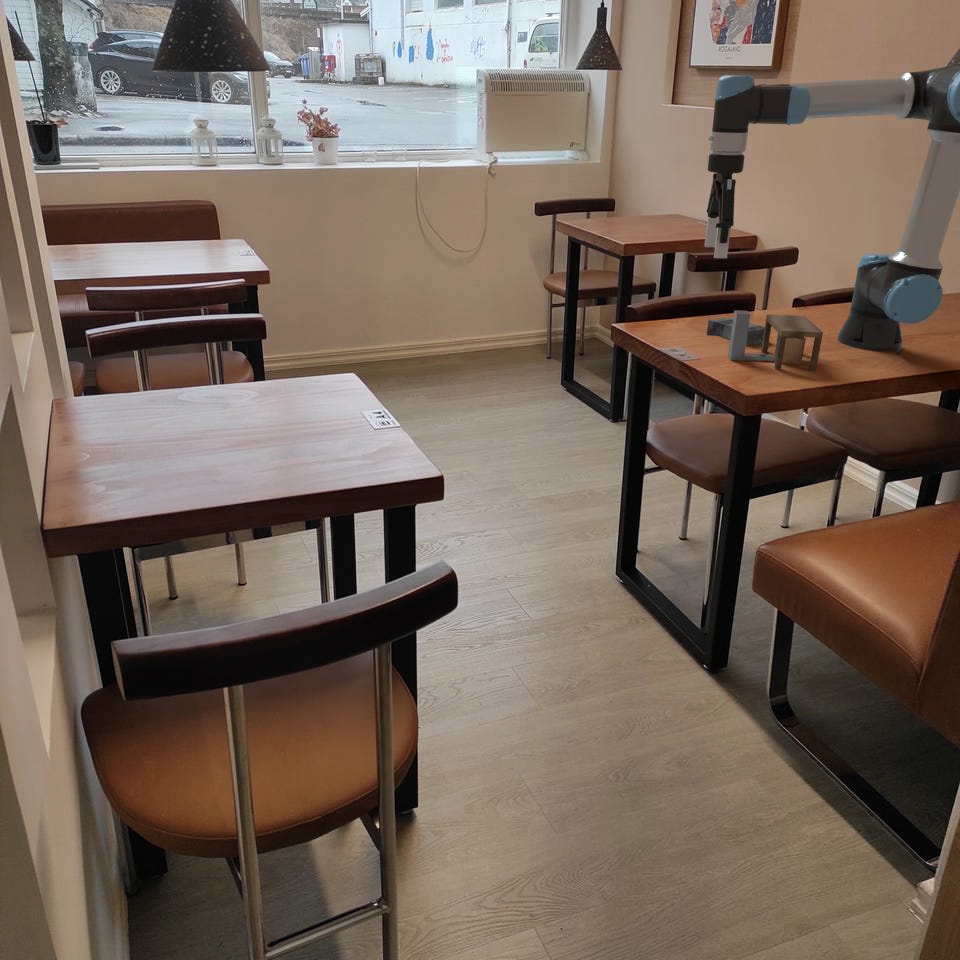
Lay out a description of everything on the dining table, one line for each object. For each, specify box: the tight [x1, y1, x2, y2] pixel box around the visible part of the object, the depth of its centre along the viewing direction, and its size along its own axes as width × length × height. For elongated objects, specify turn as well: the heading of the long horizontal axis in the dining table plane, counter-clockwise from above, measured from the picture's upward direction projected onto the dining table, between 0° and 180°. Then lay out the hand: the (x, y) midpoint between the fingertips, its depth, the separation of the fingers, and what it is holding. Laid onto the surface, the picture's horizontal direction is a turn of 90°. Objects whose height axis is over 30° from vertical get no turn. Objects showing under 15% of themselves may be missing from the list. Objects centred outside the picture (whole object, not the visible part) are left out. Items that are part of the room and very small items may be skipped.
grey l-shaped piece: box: [727, 310, 807, 365], centre depth 208 cm, size 16×5×11 cm, turn 87°
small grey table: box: [760, 314, 824, 372], centre depth 209 cm, size 9×15×10 cm, turn 177°
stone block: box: [706, 317, 765, 347], centre depth 228 cm, size 9×14×5 cm, turn 28°
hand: (715, 252), depth 204 cm, fingers open, 13 cm apart
